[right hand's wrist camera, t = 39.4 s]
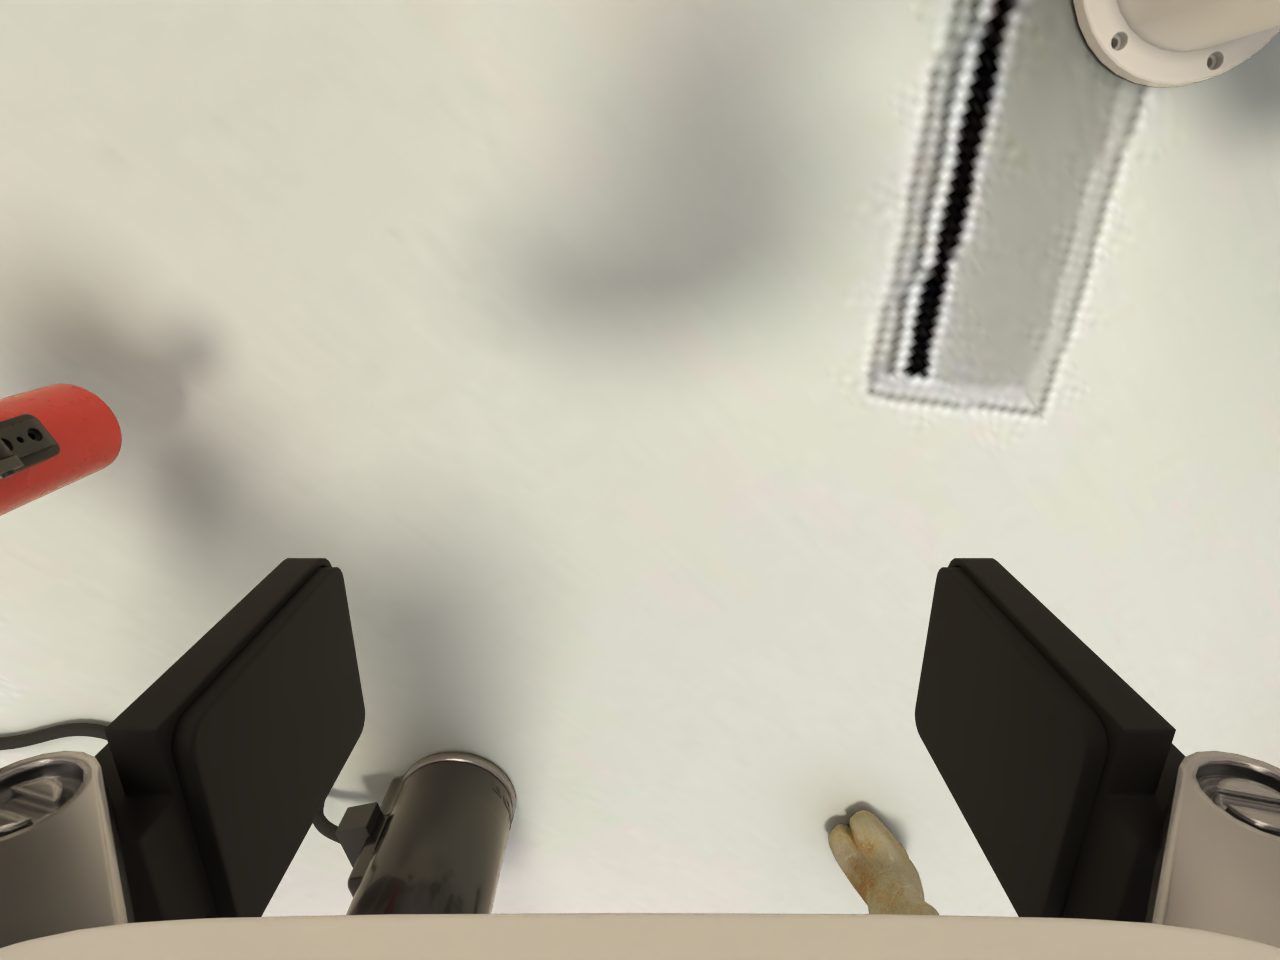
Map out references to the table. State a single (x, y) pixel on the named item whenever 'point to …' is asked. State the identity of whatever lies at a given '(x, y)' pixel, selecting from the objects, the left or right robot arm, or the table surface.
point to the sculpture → (878, 867)
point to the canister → (61, 440)
